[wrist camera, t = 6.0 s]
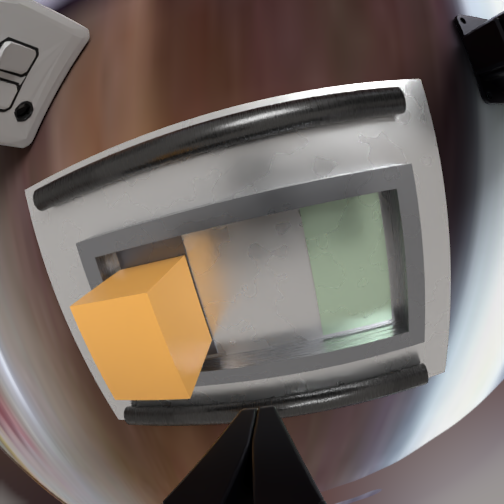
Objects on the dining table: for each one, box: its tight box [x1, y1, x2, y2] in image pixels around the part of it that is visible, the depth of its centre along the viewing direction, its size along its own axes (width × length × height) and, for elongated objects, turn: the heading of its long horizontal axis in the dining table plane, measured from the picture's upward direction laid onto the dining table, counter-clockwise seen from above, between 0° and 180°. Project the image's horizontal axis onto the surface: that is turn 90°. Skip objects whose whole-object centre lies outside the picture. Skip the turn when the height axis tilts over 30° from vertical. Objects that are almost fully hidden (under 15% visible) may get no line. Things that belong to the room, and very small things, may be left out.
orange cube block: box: [70, 255, 212, 400], centre depth 14 cm, size 4×5×5 cm
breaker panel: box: [25, 79, 451, 426], centre depth 16 cm, size 24×18×4 cm
